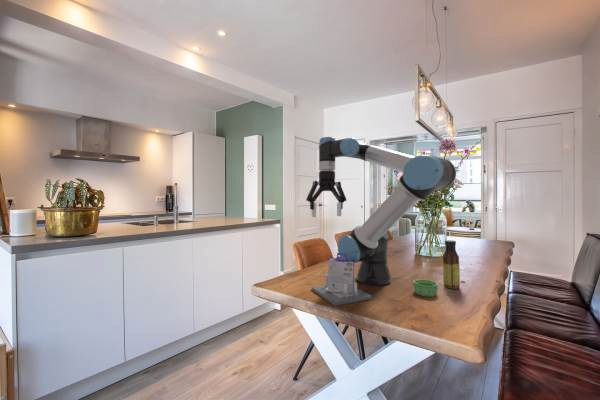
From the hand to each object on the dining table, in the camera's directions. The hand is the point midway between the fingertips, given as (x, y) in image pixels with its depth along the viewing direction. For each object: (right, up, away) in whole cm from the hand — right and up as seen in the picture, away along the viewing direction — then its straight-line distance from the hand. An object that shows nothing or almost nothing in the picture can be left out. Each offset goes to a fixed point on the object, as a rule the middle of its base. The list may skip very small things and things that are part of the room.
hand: (326, 216), depth 133 cm
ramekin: (+37, -30, -20) cm, 52 cm away
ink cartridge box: (+4, -28, -22) cm, 36 cm away
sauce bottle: (+52, -30, -13) cm, 61 cm away
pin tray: (+3, -29, -22) cm, 37 cm away
